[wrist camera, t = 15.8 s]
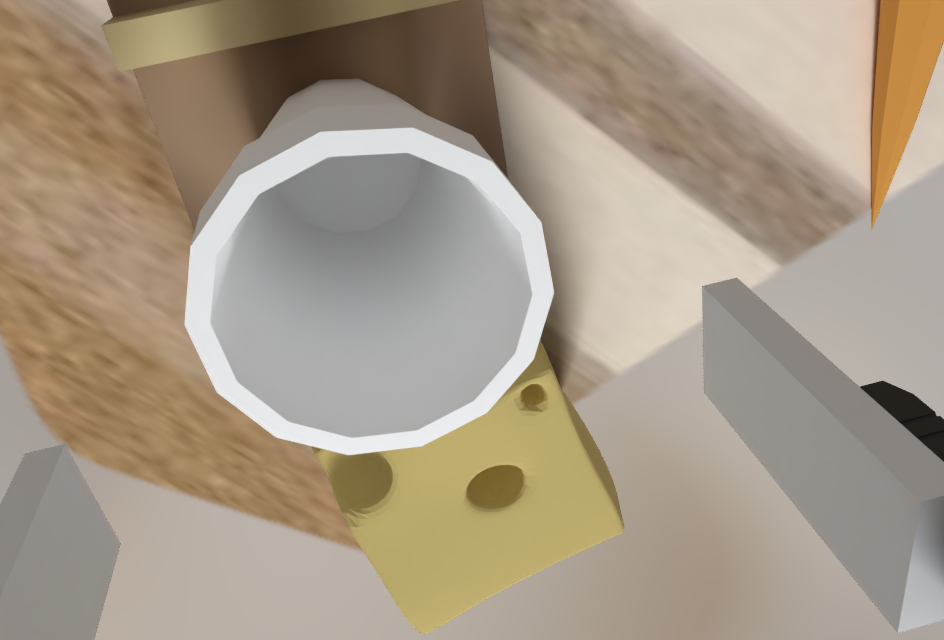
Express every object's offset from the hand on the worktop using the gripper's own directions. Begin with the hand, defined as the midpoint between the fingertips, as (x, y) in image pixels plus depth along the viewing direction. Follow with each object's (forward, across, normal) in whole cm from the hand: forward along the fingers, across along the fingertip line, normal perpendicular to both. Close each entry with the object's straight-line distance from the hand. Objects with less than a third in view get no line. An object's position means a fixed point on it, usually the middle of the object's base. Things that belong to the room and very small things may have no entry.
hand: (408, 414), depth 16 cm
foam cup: (+18, 0, 0) cm, 18 cm away
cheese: (+20, -2, +12) cm, 23 cm away
